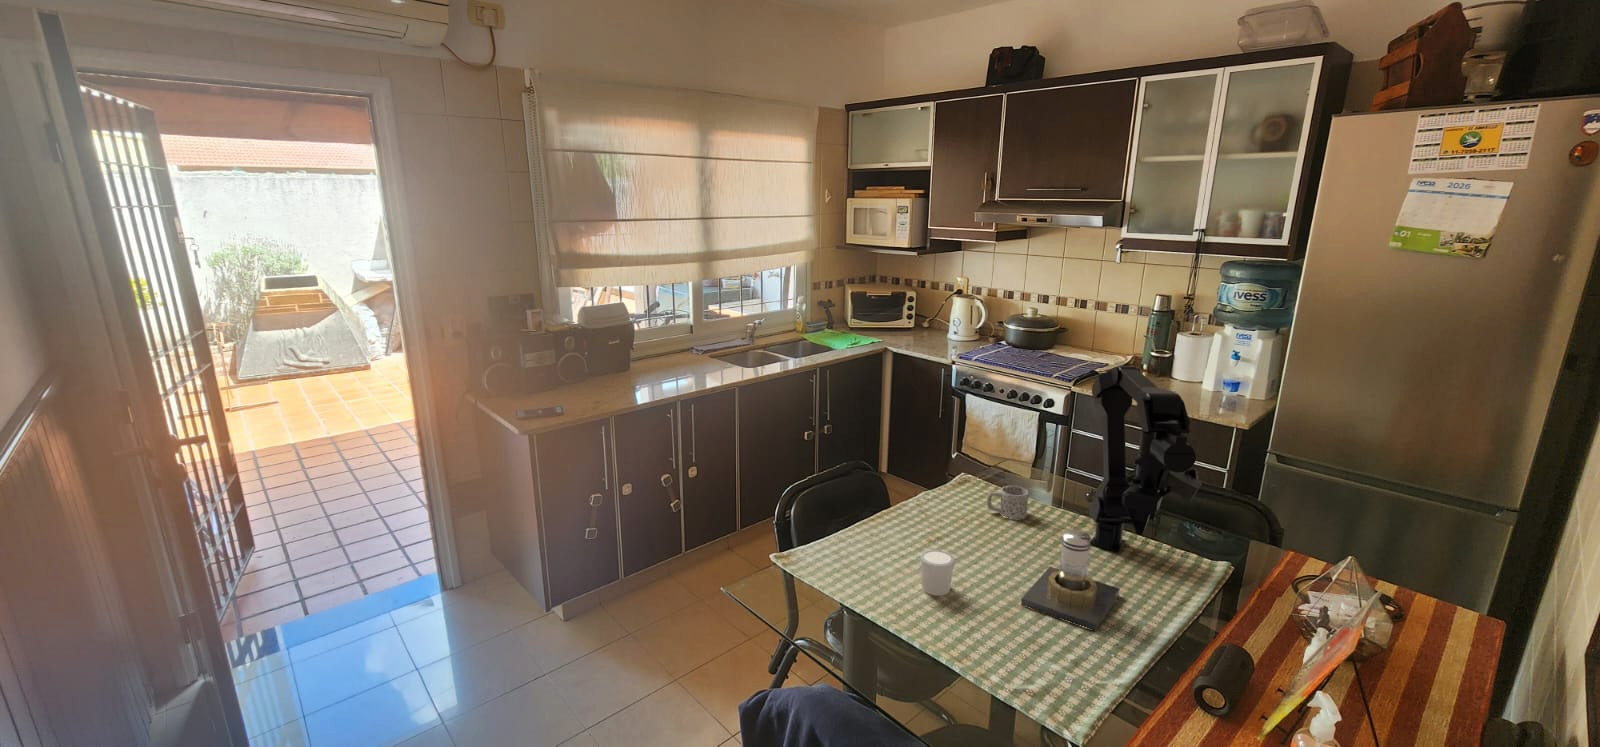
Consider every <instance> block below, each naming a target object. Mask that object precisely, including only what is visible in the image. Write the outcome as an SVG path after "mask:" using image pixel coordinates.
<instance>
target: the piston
mask: <svg viewBox="0 0 1600 747" xmlns="http://www.w3.org/2000/svg"><path fill="white" fill-rule="evenodd" d="M1091 540H1092V539H1091V535H1090V534H1089V533H1087V532H1085V531H1082V530H1079V529H1066V530H1064V531H1063V532H1062V538H1061V552H1060V563H1059V570H1060V572H1059V583H1058V585H1060V586H1061V587H1063V588H1066V589H1069V590H1073V591H1084V590H1085V588H1086V579H1087V577H1088V567H1089V560H1090V559H1089V557H1090V549H1091V545H1090V543H1091Z"/></svg>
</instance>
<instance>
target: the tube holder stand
mask: <svg viewBox="0 0 1600 747" xmlns="http://www.w3.org/2000/svg"><path fill="white" fill-rule="evenodd" d="M1059 572H1060V568H1056V567H1053V566H1049V567H1048V568H1046V570H1045V572H1044V573H1042V575H1041V576H1040V577H1039V578H1038V579H1037V580H1036V581H1035V583H1034V584H1032V586H1031V587H1030V588H1029V589H1028V590H1027V592H1026V593H1024V595H1023V596H1022V597H1021V600H1020V602H1021V604H1020V605H1021V606H1022V605H1023V607H1025V606H1027V607H1026V608H1028V607H1030V608H1029V609H1031V608H1032V609H1031V610H1033V609H1034V611H1036V610H1038V611H1037V612H1039V611H1040V612H1039V613H1042V612H1044V613H1043V614H1045V613H1046V614H1045V615H1047V614H1049V615H1048V616H1050V615H1052V616H1051V617H1053V616H1055V617H1054V618H1056V617H1057V618H1056V619H1058V618H1061V619H1064V620H1067V621H1070V622H1072V623H1075V624H1078V625H1081V626H1084V627H1087V628H1090V629H1092V630H1094V631H1096V632H1097V630H1098V629H1099V627H1100V626H1099V625H1101V624H1102V623H1101V622H1103V621H1104V619H1105V618H1106V616H1107V615H1106V614H1108V613H1109V612H1108V611H1110V610H1111V608H1112V607H1113V605H1114V604H1113V603H1115V602H1116V601H1117V599H1118V598H1119V596H1120V590H1121V589H1120V588H1119V587H1116V586H1112V585H1109V584H1106V583H1103V582H1100V581H1096V580H1093V579H1092V578H1091V577H1089V576H1087V579H1086V588H1085V590H1084V591H1073V590H1069V589H1066V588H1063V587H1061V586H1060V585H1058V583H1059ZM1115 600H1116V601H1115ZM1111 606H1112V607H1111ZM1105 615H1106V616H1105ZM1104 617H1105V618H1104ZM1103 618H1104V619H1103ZM1061 619H1060V620H1061ZM1064 620H1063V621H1064ZM1102 620H1103V621H1102ZM1067 621H1066V622H1067ZM1072 623H1071V624H1072ZM1100 623H1101V624H1100ZM1075 624H1074V625H1075ZM1078 625H1077V626H1078ZM1081 626H1080V627H1081ZM1098 626H1099V627H1098ZM1097 628H1098V629H1097ZM1092 630H1091V631H1092ZM1094 631H1093V632H1094Z"/></svg>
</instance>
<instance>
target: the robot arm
mask: <svg viewBox="0 0 1600 747" xmlns="http://www.w3.org/2000/svg"><path fill="white" fill-rule="evenodd" d="M1091 393H1092V394H1091V395H1092V397H1093V401H1094V402H1093V403H1094V406H1095V407H1096V410H1097V411H1098V412H1099V413H1100V415H1101V416H1102V420H1101V421H1102V460H1103V463H1102V464H1103V465H1102V466H1103V479H1102V481H1101V482H1100V484H1099V485H1098V486H1097V488H1096V492H1095V498H1093V500H1092V501H1091V502H1090V503H1089V505H1088V516H1089V517H1090V518H1091V519H1092V521H1093V522H1094V523H1095V533H1094V536H1093V537H1092V539H1091V540H1090V541H1091V543H1090V546H1094V547H1098V548H1101V549H1105V550H1108V551H1112V552H1115V553H1120V551H1121V550H1122V549H1123V548H1124V546H1125V545H1126V543H1127V541H1126V540H1124V539H1123V533H1124V532H1123V531H1124V525H1125V524H1129V525H1132V526H1133V528H1134V531H1135V533H1136V535H1138V536H1144V533H1145V530H1146V527H1147V525H1148V522H1149V520H1151V521H1154V520H1155V517H1156V515H1157V513H1158V511H1159V510H1160V507H1161V504H1162V500H1163V498H1164V496H1166V495H1168V494H1170V493H1172V492H1173V493H1174V494H1177V495H1178V496H1180V497H1182V499H1183V500H1185V501H1187V502H1191V501H1192V500H1193V498H1194V497H1195V496H1196V494H1197V492H1198V491H1199V489H1200V488H1201V486H1202V479H1201V478H1199V471H1198V470H1197V469H1195V468H1194V467H1193V466H1194V465H1195V463H1196V460H1197V455H1196V451H1195V449H1194V448H1193V447H1192V446H1191V445H1190V444H1189V443H1187V441H1188V437H1187V436H1185V435H1183V434H1190V433H1191V432H1190V431H1191V430H1190V425H1191V422H1190V417H1189V415H1188V411H1187V409H1186V404H1185V401H1184V400H1183V398H1182V397H1181V395H1180V394H1179V393H1177V392H1174V391H1173V390H1169V389H1165V388H1164V389H1163V388H1160V387H1158V386H1157V385H1155V383H1154V382H1152V381H1151V380H1150V379H1149V378H1148V377H1146V375H1145V374H1143V373H1142V372H1141V368H1140V367H1136V366H1135V365H1134V366H1133V365H1117V366H1114V367H1113V368H1112V369H1111V370H1110V371H1108V372H1106V373H1104V374H1102V375H1101V374H1100V375H1099V376H1098V377H1097V378H1096V379H1095V381H1093V383H1092V386H1091ZM1133 400H1134V401H1135V402H1136V409H1135V410H1136V411H1135V412H1137V415H1138V418H1139V420H1140V421H1139V423H1138V425H1139V426H1140V427H1141V430H1140V437H1139V446H1138V453H1137V454H1138V455H1137V457H1136V458H1135V462H1134V464H1135V465H1136V470H1135V475H1134V477H1132V484H1133V485H1130V483H1129V481H1128V480H1127V458H1126V457H1127V456H1126V422H1125V421H1126V415H1127V413H1128V411H1129V410H1130V409H1131V407H1132V405H1133ZM1134 485H1135V486H1134ZM1136 485H1138V486H1136Z"/></svg>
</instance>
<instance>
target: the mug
mask: <svg viewBox="0 0 1600 747" xmlns="http://www.w3.org/2000/svg"><path fill="white" fill-rule="evenodd" d="M1000 490H1001V491H999V490H997V491H991V492H989V493H988V494H987V499H986V506H987V508H988V509H989V510H991V511H994V512H997V513H999V514H1000V513H1001V514H1002V515H1003V516H1005V517H1008V518H1012V519H1023V518H1025V519H1027V517H1026V516H1027V514H1028V503H1029V490H1028V489H1026V488H1024V487H1022V486H1019V485H1018V486H1017V485H1006V486H1002V487H1001V489H1000ZM994 496H995V497H999V498H1000V502H999V504H1000V505H997V506H995V505H993V504H992V498H993V497H994ZM1023 520H1024V519H1023Z"/></svg>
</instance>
